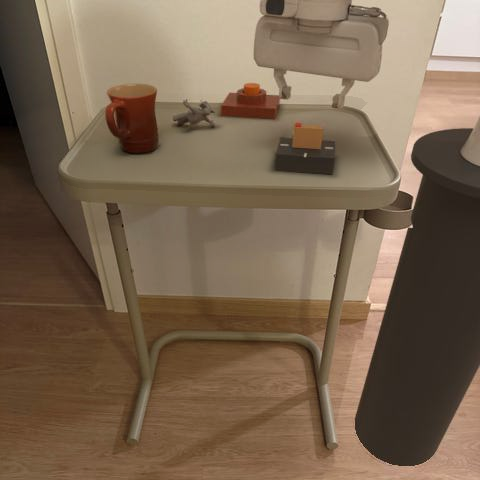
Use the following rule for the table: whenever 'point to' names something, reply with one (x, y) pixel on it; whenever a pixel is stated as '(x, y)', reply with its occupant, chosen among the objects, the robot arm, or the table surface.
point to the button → (251, 88)
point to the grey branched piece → (195, 114)
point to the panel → (305, 158)
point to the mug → (133, 117)
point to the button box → (250, 105)
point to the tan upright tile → (307, 136)
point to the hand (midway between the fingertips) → (310, 102)
